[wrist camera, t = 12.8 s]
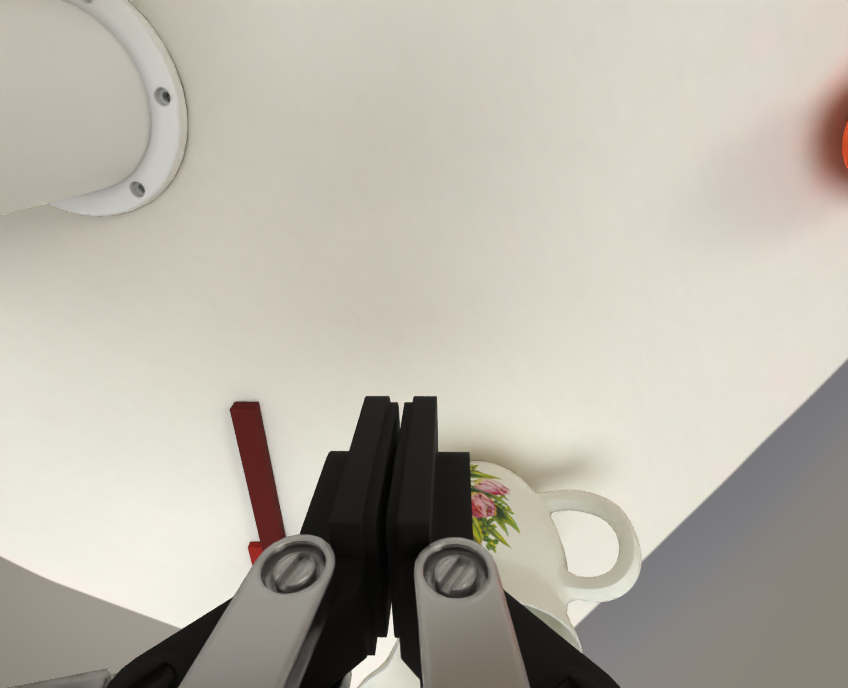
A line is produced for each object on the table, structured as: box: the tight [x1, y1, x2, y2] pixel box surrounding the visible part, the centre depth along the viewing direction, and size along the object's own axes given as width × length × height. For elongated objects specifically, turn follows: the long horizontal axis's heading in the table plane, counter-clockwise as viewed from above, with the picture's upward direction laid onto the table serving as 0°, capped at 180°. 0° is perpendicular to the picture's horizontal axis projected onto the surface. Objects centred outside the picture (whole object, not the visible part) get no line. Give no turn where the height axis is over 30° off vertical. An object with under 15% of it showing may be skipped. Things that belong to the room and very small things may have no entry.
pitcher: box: [357, 461, 641, 688], centre depth 33 cm, size 11×18×14 cm, turn 114°
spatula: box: [230, 402, 286, 566], centre depth 41 cm, size 5×21×1 cm, turn 2°
